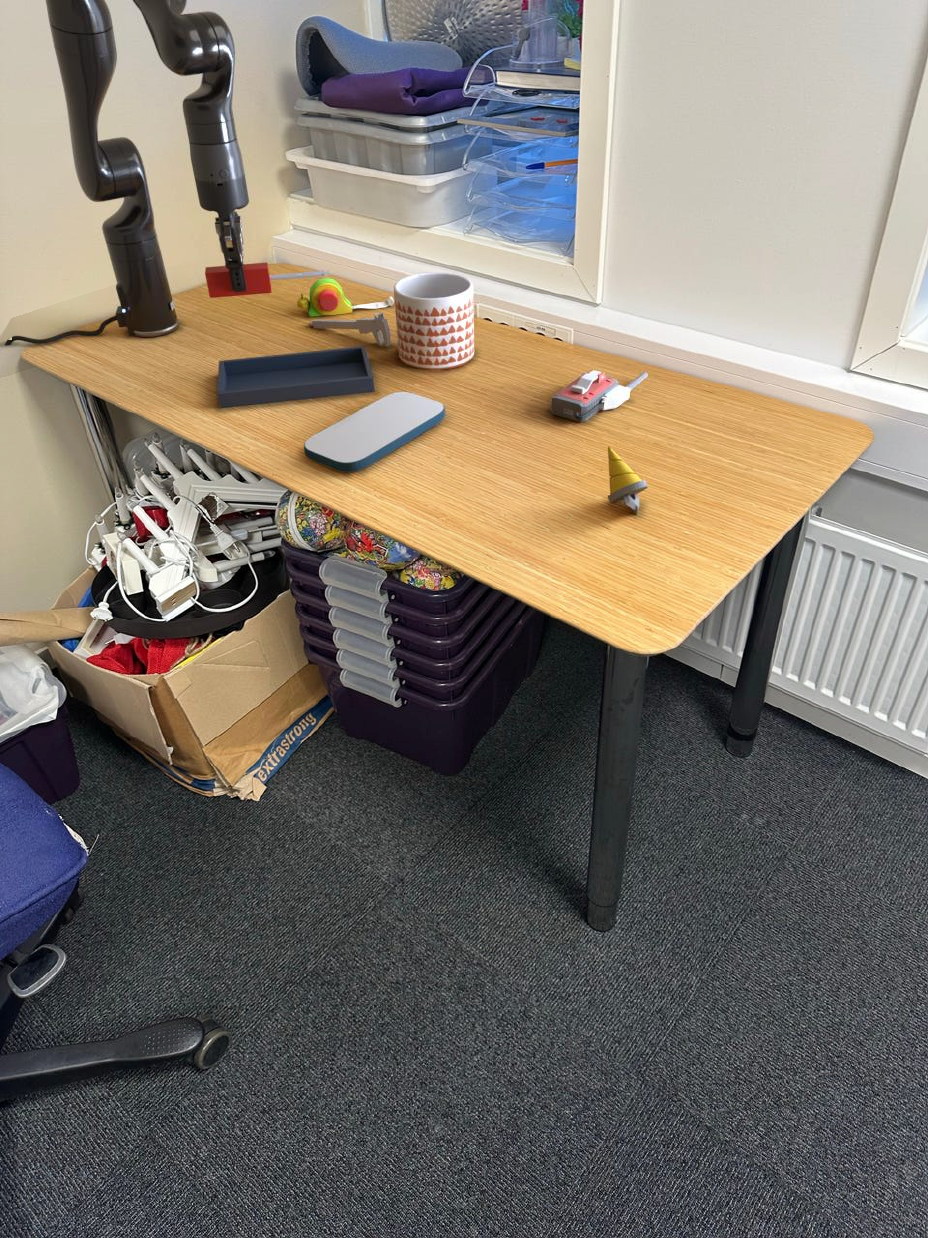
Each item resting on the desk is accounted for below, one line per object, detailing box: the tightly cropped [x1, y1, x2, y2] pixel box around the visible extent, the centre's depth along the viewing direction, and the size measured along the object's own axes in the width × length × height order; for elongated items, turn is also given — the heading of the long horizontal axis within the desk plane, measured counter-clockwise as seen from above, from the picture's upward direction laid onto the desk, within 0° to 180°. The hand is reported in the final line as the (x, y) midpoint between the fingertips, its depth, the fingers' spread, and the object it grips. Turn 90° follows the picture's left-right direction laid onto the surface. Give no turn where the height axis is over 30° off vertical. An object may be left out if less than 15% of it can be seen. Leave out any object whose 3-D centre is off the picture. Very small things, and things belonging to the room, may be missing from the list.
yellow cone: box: [607, 446, 649, 515], centre depth 116 cm, size 5×5×10 cm
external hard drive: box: [303, 391, 446, 473], centre depth 134 cm, size 24×12×2 cm, turn 142°
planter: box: [393, 271, 475, 371], centre depth 153 cm, size 14×14×13 cm
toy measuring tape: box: [296, 277, 395, 318], centre depth 174 cm, size 6×20×7 cm, turn 104°
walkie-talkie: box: [550, 369, 648, 423], centre depth 141 cm, size 9×4×20 cm
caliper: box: [308, 312, 392, 348], centre depth 164 cm, size 20×1×6 cm, turn 54°
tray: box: [216, 345, 376, 409], centre depth 149 cm, size 26×14×3 cm, turn 101°
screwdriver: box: [204, 262, 330, 299], centre depth 143 cm, size 20×3×4 cm, turn 101°
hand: (239, 286), depth 143 cm, fingers closed on screwdriver, 3 cm apart
